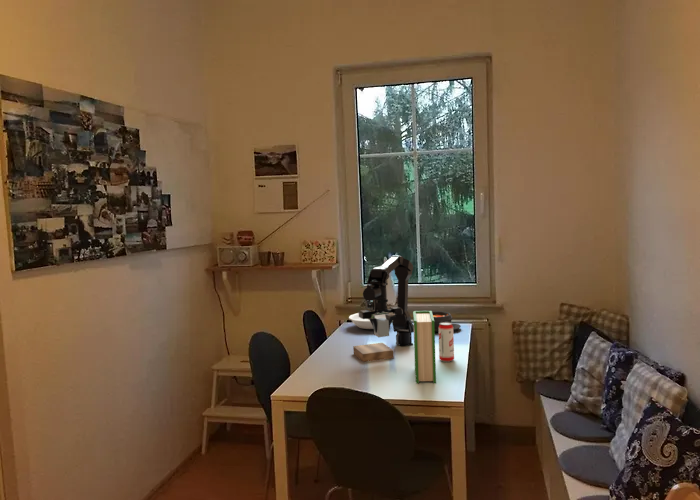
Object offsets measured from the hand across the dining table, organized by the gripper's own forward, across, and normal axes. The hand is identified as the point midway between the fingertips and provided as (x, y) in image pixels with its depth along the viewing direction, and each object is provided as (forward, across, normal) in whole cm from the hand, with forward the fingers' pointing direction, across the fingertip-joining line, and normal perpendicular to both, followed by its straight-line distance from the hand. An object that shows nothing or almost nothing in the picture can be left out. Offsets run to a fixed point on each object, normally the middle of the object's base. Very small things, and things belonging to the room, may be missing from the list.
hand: (381, 331), depth 249 cm
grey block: (+2, 0, 0) cm, 2 cm away
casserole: (+12, -44, -34) cm, 57 cm away
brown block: (+12, +3, -4) cm, 13 cm away
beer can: (+12, -22, +17) cm, 30 cm away
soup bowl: (+12, -16, -54) cm, 57 cm away
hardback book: (+12, -5, +31) cm, 34 cm away
